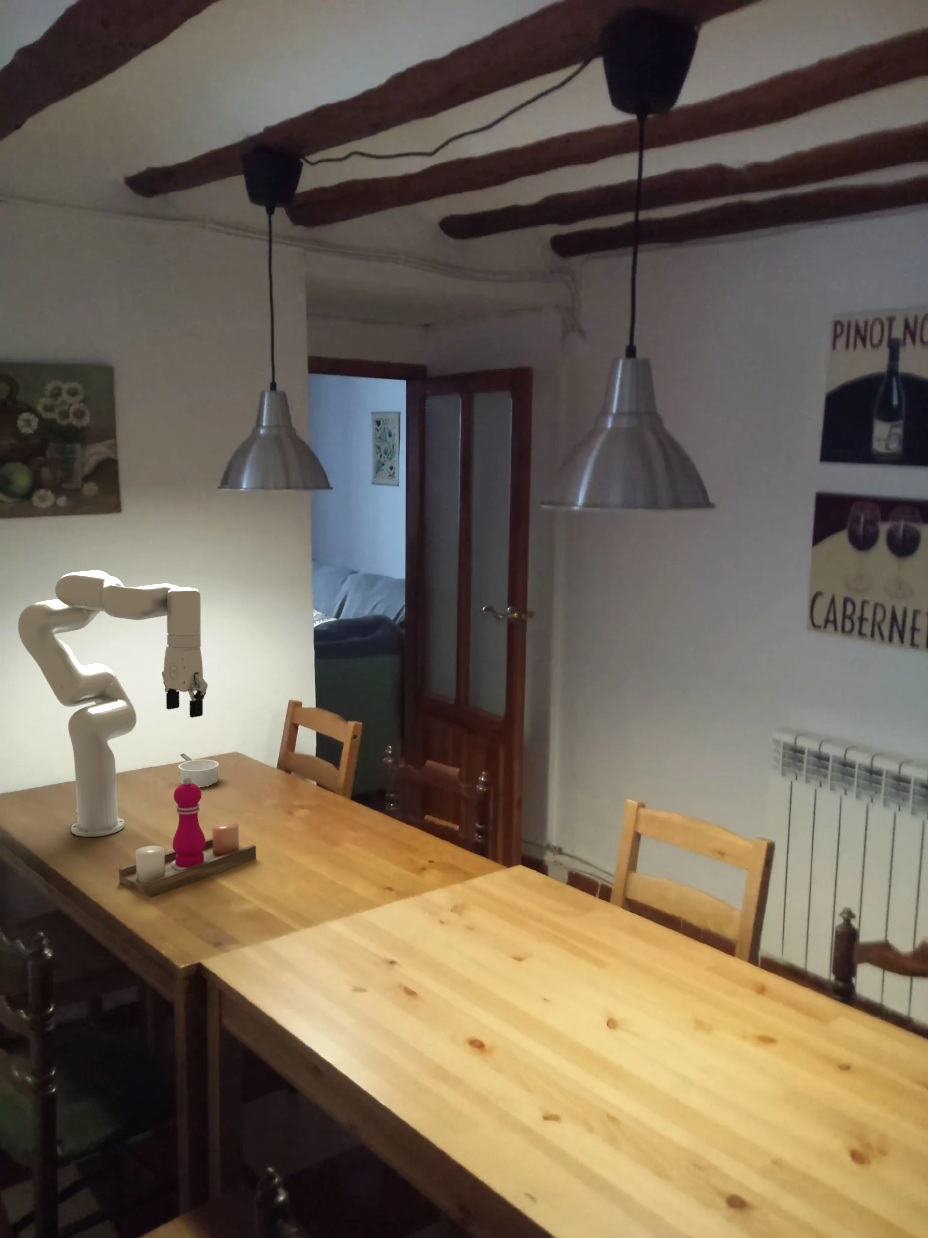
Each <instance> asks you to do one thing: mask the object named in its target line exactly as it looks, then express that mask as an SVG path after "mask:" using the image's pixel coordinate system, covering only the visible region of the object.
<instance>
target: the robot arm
mask: <svg viewBox="0 0 928 1238" xmlns="http://www.w3.org/2000/svg"><path fill="white" fill-rule="evenodd" d="M54 593H55V596H56V599H48V600H44V601H38V602H35V603H33V604H30V605H28V606H26V607H25V608H24V609H23V610H22V611H21V613H20V615H19V618H18V622H17V623H18V624H17V628H18V629H17V630H18V635H19V638H20V641H21V643H22V644H23V647H24V648H25V649H26V651H27V652H28V653H29V655H30V656H31V657H32V658H33V660H34V661H35V663H36V664H37V666H38V667H39V669H40V671H41V672H42V675H43V676H44V678H45V680H46V681H47V684H48V685H49V686H50V688H51V690H52V692H53V694H54V696H55V697H56V699H57V700H58V702H59V703H60V704H61V705H63V706H64V707H67V708H69V707H70V708H73V707H79V706H83V705H85V704H87V706H84V707H82V708H79V709H77V711H75V712H74V713H73V714H71V716H70V718H69V719H68V726H67V727H68V734H69V737H70V738H69V739H70V742H71V746H72V751H73V760H74V761H73V762H74V774H75V775H74V777H75V778H74V779H75V795H76V808H75V810H73V815H75V816H76V818H77V821H76V822H74V823H73V824H72V825H71V827H70V829H71V830H70V831H71V833H72V834H74V835H75V836H79V837H87V838H90V837H91V838H94V837H102V836H108V835H111V834H115V833H117V832H119V831H121V830H122V829H123V828H125V820H124V819H123V818H121V817H119V816H118V801H117V800H118V799H117V798H118V796H117V772H116V758H115V755H114V753H113V751H112V749H111V747H110V746H109V744H108V741H111V740H112V739H116V738H119V737H122V736H126V735H127V734H129V733H130V732H131V733H132V731H133V730H134V729H135V727H136V724H137V714H136V710H135V708H134V705H133V704H132V702H131V699H130V698H129V697H128V695H127V693H126V691H125V689H124V687H123V686H122V685H121V682H120V681H119V679H118V677H117V676H116V674H115V673H114V672H113V670H112V669H110V667H108V666H107V665H104V664H103V663H90V664H85V665H82V664H81V663H80V662H79V661H78V660H77V658H76V655H74V652H73V650H72V649H71V648H70V647H69V646H68V645H67V644H65V642H63V641H62V640H60V639H59V638H57V637H56V636H55V635H56V634H63V633H68V632H73V631H79V630H81V629H83V628H85V627H86V626H88V625H89V624H90V623H91V622H92V621H93V620H94V618H95V617H96V616H97V615H98V614H99V613H100V612H105V613H106V614H107V615H108V616H110V617H113V618H119V619H126V620H134V621H141V620H148V619H152V618H161V617H165V616H166V643H167V645H166V648H165V652H164V657H163V658H164V660H163V661H164V662H163V670H162V672H161V676H162V679H163V682H162V684H163V685H164V692H165V695H166V697H165V699H166V701H165V702H166V704H165V705H166V707H165V709H166V710H174V709H178V708H180V692H182V693H186V692H188V695H189V697H190V699H191V700H189V718H197V717H203V714H204V708H203V707H204V706H203V705H204V701H203V700H204V699H205V696H206V695H207V690H208V689H207V688H208V686H209V685H208V683H207V681H206V680H205V679H204V671H203V669H204V668H203V667H204V666H203V658H202V652H201V648H202V645H201V642H202V641H201V636H202V634H201V633H202V632H201V630H202V628H201V606H202V605H201V601H202V600H201V593H200V591H199V590H198V589H197V588H193V587H180V586H178V585H173V584H170V583H161V584H152V585H151V584H149V585H144V586H137V587H134V586H133V587H130V586H124V585H123V583H122V582H121V580H120V579H118V578H117V577H115V576H110V575H109V574H108V573H106V572H105V571H102V570H94V569H93V570H88V571H77V572H71V573H68V574H67V573H66V574H65V575H63V576H62V577H60V579H59V580H58V581H57V582H56V585H55V587H54ZM89 703H90V704H91V703H95V704H91V705H89V706H88V704H89Z"/></svg>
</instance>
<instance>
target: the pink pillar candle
mask: <svg viewBox="0 0 928 1238" xmlns="http://www.w3.org/2000/svg"><path fill="white" fill-rule="evenodd" d="M239 835H240V834H239V824H238V823H237V822H232V821H224V822H217V823H215V824H213V825H212V826H211V838H212V846H213V854H215V855H218V856H223V855H226V854H228V853H231V852H234V851H237V850H239V846H240V839H239V837H240V836H239Z"/></svg>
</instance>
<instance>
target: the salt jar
mask: <svg viewBox="0 0 928 1238" xmlns="http://www.w3.org/2000/svg"><path fill="white" fill-rule="evenodd" d="M135 863H136V877H137V880H138V881H139V882H144V883H148V881H151V880H154V879H157V878H160V877H163V876H165V848H164V847H163V846H160V845H147V846H143V847H140V848H138V849H136V850H135Z"/></svg>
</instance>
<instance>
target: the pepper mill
mask: <svg viewBox="0 0 928 1238" xmlns="http://www.w3.org/2000/svg"><path fill="white" fill-rule="evenodd" d="M183 783H184V784H181V783H180V784H179V785H178V786H177V787H175V789H174V792H173V801H174V802H175V803H176V804H177V805H176V813H177V814H178V825H177V829H176V831H175V833H174V836H173V839H172V849H173V850H172V851H175V852H176V853H177V855H176V856H175V863H176V865H177V866H179V867H183V868H188V867H191V866H194V865H197V864H200V863H203V862H204V853H203V852H202V851H203V849H204V848H205V846H206V841H205V840H206V837H205V834H204V832H203V829H202V827H201V826H200V822H199V813H198V812H200V803H199V802H200V800H201V799H202V790H201V788H199V787H198V786H197V785H196V784H193V783H191V778H189V777H185V778H184V779H183Z"/></svg>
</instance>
